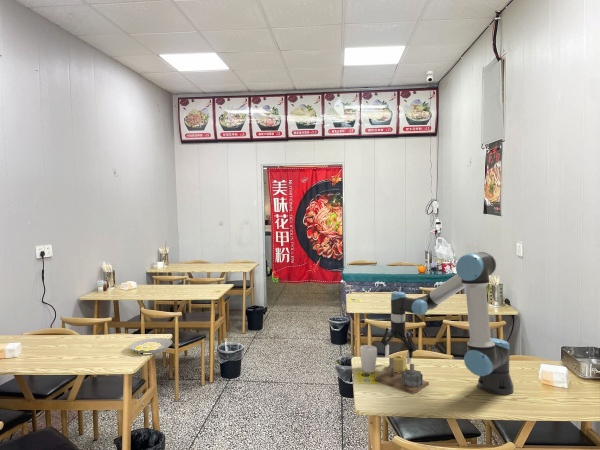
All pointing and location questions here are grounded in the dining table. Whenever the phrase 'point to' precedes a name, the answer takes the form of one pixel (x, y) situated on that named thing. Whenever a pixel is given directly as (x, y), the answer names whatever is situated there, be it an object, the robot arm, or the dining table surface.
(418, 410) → the dining table surface
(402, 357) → the ochre gear
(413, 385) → the gear board
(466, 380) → the dining table surface
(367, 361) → the cup
